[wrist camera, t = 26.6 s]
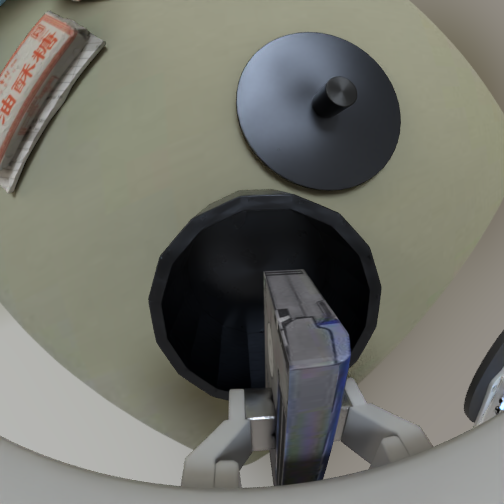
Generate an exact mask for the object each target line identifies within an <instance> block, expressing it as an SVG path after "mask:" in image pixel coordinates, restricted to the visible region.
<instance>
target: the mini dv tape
mask: <svg viewBox="0 0 504 504" xmlns="http://www.w3.org/2000/svg"><path fill="white" fill-rule="evenodd" d="M263 276H264V323H265V386H266V388H272V392H273V402H274V404H275V410H276V416H277V423H276V431H275V434H276V449H271V450H269V452H270V460H271V467H272V476H273V484H274V486H281V485H290V484H298V483H306V482H312V481H318V480H323V477H324V474H325V471H326V467H327V464H328V460H329V456H330V453H331V449H332V445H333V441H334V437H335V433H336V429H337V425H338V420H339V416H340V411H341V406H342V402H343V397H344V392H345V386H346V381H347V375H348V370H349V364H350V357H351V349H350V340H349V334H348V333H347V331H346V330H345V328H344V327H343V325H342V324H341V322H340V321H339V319H338V318H337V316H336V315H335V314H334V312H333V311H332V309H331V308H330V306H329V305H328V303H327V302H326V300H325V299H324V298H323V296H322V295H321V293H320V292H319V290H318V289H317V288H316V286H315V285H314V283H313V282H312V280H311V279H310V278H309V276H308V275H307V273H306V272H305V270H304V269H300V270H281V271H264V272H263Z"/></svg>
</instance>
